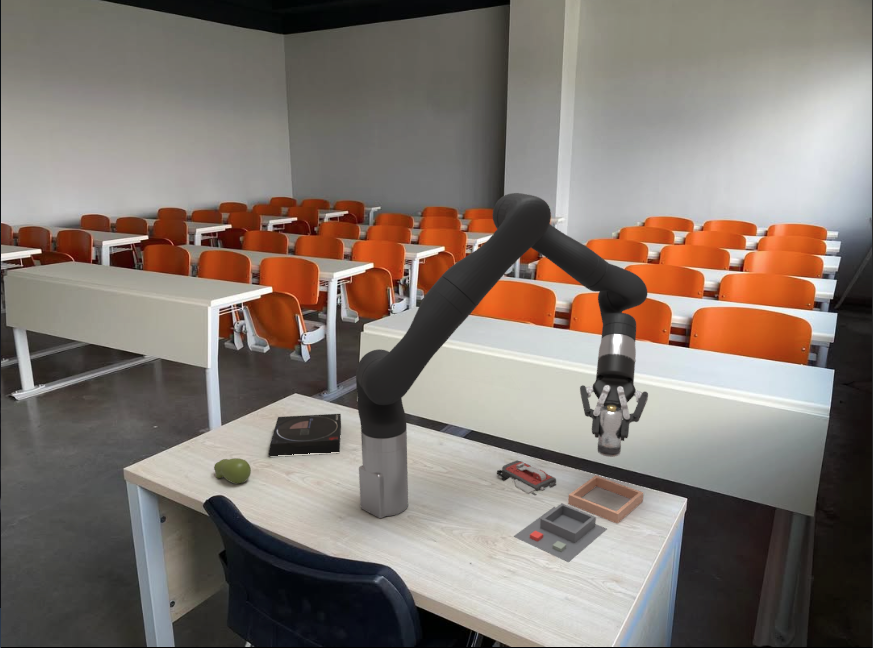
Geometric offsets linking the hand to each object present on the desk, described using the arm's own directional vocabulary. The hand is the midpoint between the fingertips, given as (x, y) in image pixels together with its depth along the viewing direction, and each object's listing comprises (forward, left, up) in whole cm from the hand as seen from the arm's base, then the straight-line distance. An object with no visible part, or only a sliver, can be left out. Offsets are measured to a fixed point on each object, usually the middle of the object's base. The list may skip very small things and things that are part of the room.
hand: (609, 437), depth 131 cm
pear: (-43, +71, -17) cm, 84 cm away
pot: (+2, +1, -17) cm, 17 cm away
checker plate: (-14, +2, -17) cm, 22 cm away
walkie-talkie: (-1, +16, -18) cm, 24 cm away
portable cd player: (-19, +74, -18) cm, 78 cm away
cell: (+2, +1, -4) cm, 4 cm away
